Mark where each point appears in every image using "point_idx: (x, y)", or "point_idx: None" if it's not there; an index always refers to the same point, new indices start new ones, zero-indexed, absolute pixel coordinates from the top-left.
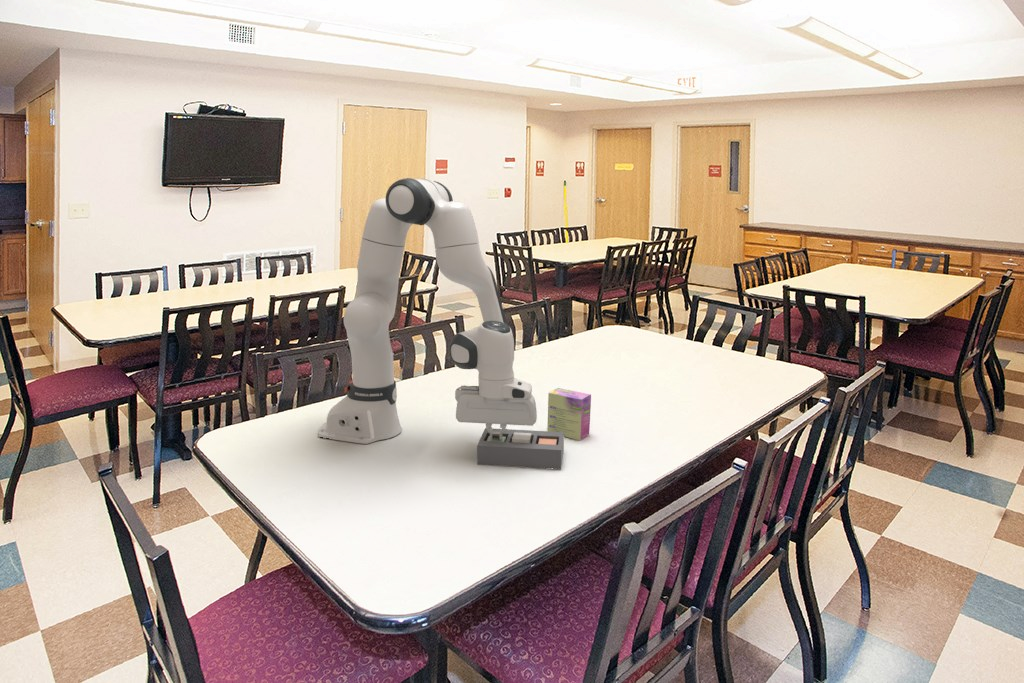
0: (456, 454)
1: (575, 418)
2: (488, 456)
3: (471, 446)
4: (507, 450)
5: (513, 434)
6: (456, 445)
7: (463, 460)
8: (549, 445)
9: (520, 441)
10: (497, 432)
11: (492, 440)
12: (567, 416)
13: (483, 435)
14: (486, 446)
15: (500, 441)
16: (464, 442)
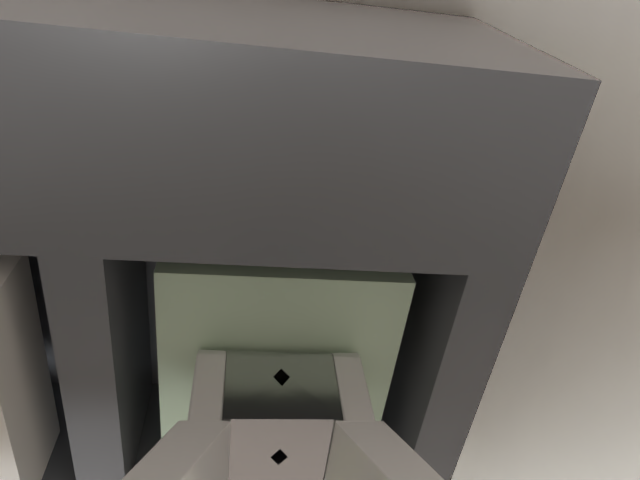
0: (636, 251)
1: None
2: (361, 21)
3: (485, 396)
4: (22, 7)
5: (14, 461)
6: (597, 400)
7: (602, 125)
8: None
9: None
10: (261, 465)
11: (325, 342)
12: None
13: (448, 427)
14: (429, 64)
15: (209, 323)
16: (529, 446)
